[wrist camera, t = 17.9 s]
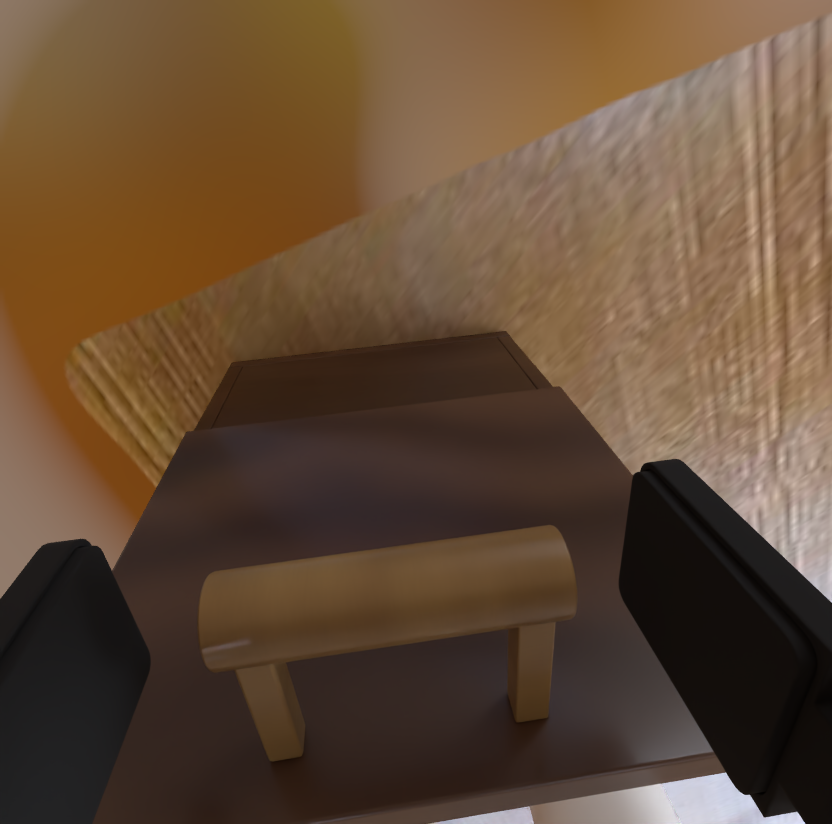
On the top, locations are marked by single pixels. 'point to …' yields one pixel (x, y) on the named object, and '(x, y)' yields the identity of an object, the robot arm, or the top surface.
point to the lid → (391, 623)
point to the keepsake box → (370, 379)
